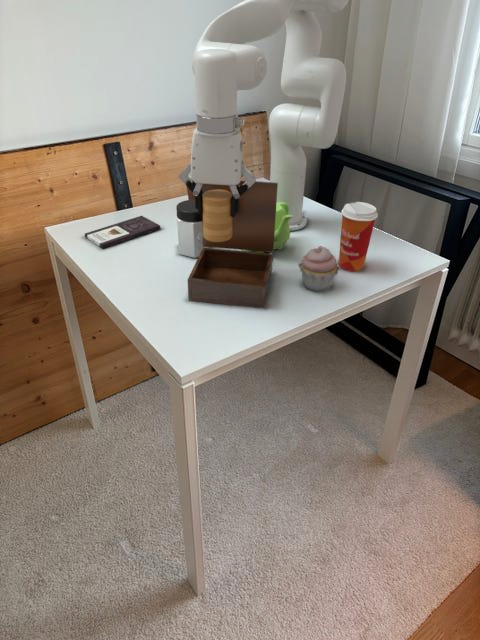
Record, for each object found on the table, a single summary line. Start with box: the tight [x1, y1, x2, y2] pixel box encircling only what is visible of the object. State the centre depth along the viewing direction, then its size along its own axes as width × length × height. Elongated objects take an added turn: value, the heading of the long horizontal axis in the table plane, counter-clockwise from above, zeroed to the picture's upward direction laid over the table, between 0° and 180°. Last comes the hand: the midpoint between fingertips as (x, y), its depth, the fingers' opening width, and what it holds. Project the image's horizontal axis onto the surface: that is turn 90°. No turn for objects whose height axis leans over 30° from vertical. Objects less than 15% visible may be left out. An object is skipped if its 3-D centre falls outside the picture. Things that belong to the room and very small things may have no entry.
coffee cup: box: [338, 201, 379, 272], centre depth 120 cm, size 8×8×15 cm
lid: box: [202, 179, 278, 253], centre depth 116 cm, size 16×17×5 cm
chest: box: [187, 247, 274, 309], centre depth 114 cm, size 15×17×5 cm
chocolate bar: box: [84, 215, 161, 249], centre depth 137 cm, size 9×1×18 cm
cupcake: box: [297, 245, 341, 292], centre depth 113 cm, size 9×9×10 cm
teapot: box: [253, 202, 293, 253], centre depth 129 cm, size 16×14×13 cm
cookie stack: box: [202, 189, 233, 242], centre depth 106 cm, size 6×6×9 cm
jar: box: [175, 199, 211, 259], centre depth 126 cm, size 9×8×12 cm
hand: (217, 212), depth 105 cm, fingers closed on cookie stack, 6 cm apart
